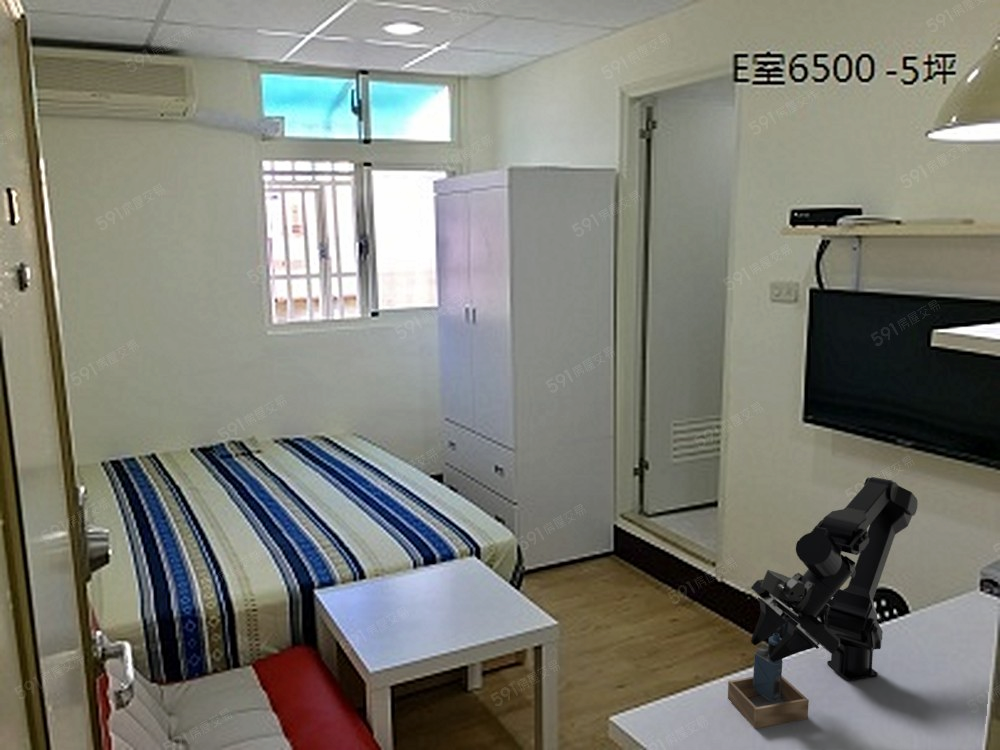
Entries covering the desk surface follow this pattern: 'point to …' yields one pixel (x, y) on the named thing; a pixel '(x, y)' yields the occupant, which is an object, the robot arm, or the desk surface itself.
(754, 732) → the desk surface
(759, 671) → the vaping device
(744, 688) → the box
